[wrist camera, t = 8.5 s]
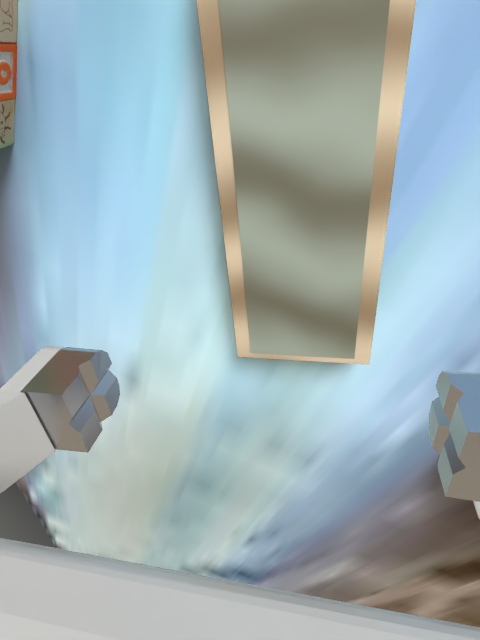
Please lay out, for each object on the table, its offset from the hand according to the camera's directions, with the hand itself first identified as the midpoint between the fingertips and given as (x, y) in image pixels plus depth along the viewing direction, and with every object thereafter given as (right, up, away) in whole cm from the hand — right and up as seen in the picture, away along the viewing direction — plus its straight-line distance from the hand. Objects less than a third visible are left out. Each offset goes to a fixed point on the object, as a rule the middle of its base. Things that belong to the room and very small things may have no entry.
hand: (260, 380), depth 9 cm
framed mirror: (+4, +10, +15) cm, 18 cm away
